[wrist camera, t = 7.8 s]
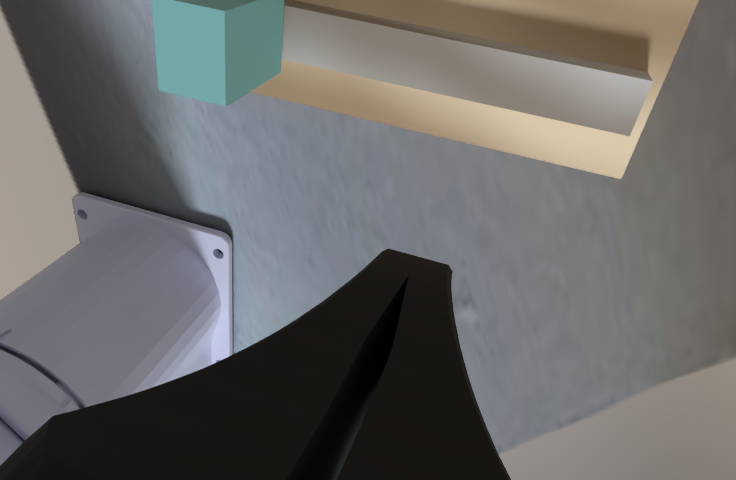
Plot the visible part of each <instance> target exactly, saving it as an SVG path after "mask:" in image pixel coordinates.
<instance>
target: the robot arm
mask: <svg viewBox="0 0 736 480" xmlns="http://www.w3.org/2000/svg"><path fill="white" fill-rule="evenodd" d="M72 203H73V208H74V213H75V219H76V224H77V229H78V235H79V240H80V244H78V245H77V246H76V247H74V248H73V249H71V250H70V251H69V252H67V253H66V254H64V255H63V256H62V257H60V258H59V259H58V260H56V261H55V262H53V263H52V264H51V265H49V266H48V267H46V268H45V269H43V270H42V271H40V272H39V273H38V274H36V275H35V276H33V277H32V278H31V279H30V280H28V281H27V282H25V283H24V284H22V285H21V286H19V287H18V288H17V289H15V290H14V291H12V292H11V293H10V294H8V295H7V296H6V297H4V298H3V299H1V300H0V480H511V479H510V477H509V475H508V473H507V471H506V469H505V467H504V465H503V463H502V461H501V459H500V457H499V455H498V453H497V451H496V448H495V446H494V444H493V441H492V439H491V437H490V434H489V432H488V430H487V427H486V425H485V423H484V420H483V417H482V415H481V412H480V409H479V407H478V404H477V402H476V399H475V396H474V393H473V390H472V387H471V384H470V381H469V377H468V374H467V370H466V367H465V363H464V360H463V356H462V352H461V348H460V344H459V339H458V334H457V329H456V324H455V318H454V312H453V303H452V292H451V278H452V270H451V268H450V267H449V265H446V264H443V263H439V262H435V261H432V260H428V259H424V258H421V257H417V256H413V255H410V254H406V253H402V252H399V251H395V250H391V249H386V250H384V251H382V252H381V253H380V254H379V255H378V256H377V257H376V258H375V259H374V260H373V261H372V262H371V263H370V264H369V265H367V266H366V267H365V268H364V269H363V270H362V271H361V272H359V273H358V274H357V275H356V276H355V277H354V278H352V279H351V280H350V281H349V282H347V283H346V284H345V285H344V286H342V287H341V288H340V289H338V290H337V291H336V292H335V293H333V294H332V295H331V296H329V297H328V298H327V299H325V300H324V301H323V302H321V303H320V304H318V305H317V306H315V307H314V308H312V309H311V310H310V311H308V312H307V313H305V314H304V315H302V316H301V317H299V318H298V319H296V320H295V321H293V322H292V323H290V324H288V325H287V326H285V327H283V328H282V329H280V330H279V331H277V332H275V333H273V334H272V335H270V336H268V337H266V338H264V339H263V340H261V341H259V342H257V343H255V344H253V345H251V346H250V347H248V348H246V349H243V350H241V351H239V352H237V353H235V354H233V324H232V241H231V239H230V237H229V236H228V235H227V234H226V233H224V232H222V231H218V230H215V229H211V228H208V227H204V226H201V225H197V224H193V223H190V222H186V221H183V220H179V219H176V218H172V217H169V216H165V215H162V214H158V213H155V212H151V211H148V210H144V209H140V208H137V207H133V206H130V205H126V204H123V203H119V202H116V201H112V200H109V199H105V198H102V197H98V196H95V195H91V194H87V193H83V192H81V193H79V194H77V195H75V196H74V197H73V199H72ZM84 211H85V212H86V213H87V214H86V213H85V212H84ZM218 249H219V250H221V251H222V252H223V254H221V253H220V252H219V251H218Z"/></svg>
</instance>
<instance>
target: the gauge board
mask: <svg viewBox="0 0 736 480" xmlns="http://www.w3.org/2000/svg"><path fill="white" fill-rule="evenodd" d="M698 1H699V0H284V15H283V37H282V59H281V73H279V74H278V75H276V76H275V77H273V78H271V79H270V80H268V81H266V82H265V83H263V84H262V85H260V86H258V87H257V88H255V89H253V90H252V91H250V92H253V93H257V94H261V95H265V96H270V97H274V98H278V99H282V100H287V101H291V102H295V103H299V104H304V105H308V106H312V107H316V108H321V109H325V110H329V111H333V112H338V113H342V114H346V115H350V116H355V117H359V118H363V119H367V120H372V121H376V122H380V123H384V124H389V125H393V126H397V127H401V128H406V129H410V130H414V131H418V132H423V133H427V134H431V135H435V136H440V137H444V138H448V139H452V140H457V141H461V142H465V143H469V144H474V145H478V146H482V147H486V148H491V149H495V150H499V151H503V152H508V153H512V154H516V155H520V156H525V157H529V158H533V159H537V160H542V161H546V162H550V163H554V164H559V165H563V166H567V167H571V168H576V169H580V170H584V171H588V172H593V173H597V174H601V175H605V176H610V177H614V178H618V179H622V176H623V174H624V172H625V169H626V167H627V165H628V162H629V160H630V158H631V155H632V153H633V151H634V149H635V146H636V144H637V142H638V139H639V137H640V135H641V132H642V130H643V128H644V126H645V123H646V121H647V119H648V116H649V114H650V112H651V109H652V107H653V105H654V102H655V100H656V98H657V96H658V93H659V91H660V89H661V86H662V84H663V82H664V79H665V77H666V75H667V73H668V70H669V68H670V66H671V63H672V61H673V59H674V56H675V54H676V52H677V49H678V47H679V45H680V43H681V40H682V38H683V36H684V33H685V31H686V29H687V26H688V24H689V22H690V20H691V17H692V15H693V13H694V10H695V8H696V6H697V3H698Z"/></svg>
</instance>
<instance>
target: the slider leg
mask: <svg viewBox="0 0 736 480" xmlns="http://www.w3.org/2000/svg"><path fill="white" fill-rule="evenodd" d="M151 1H152V14H153V27H154V39H155V52H156V64H157V77H158V89H159V91H164V92H168V93H172V94H176V95H180V96H184V97H188V98H193V99H197V100H201V101H205V102H209V103H213V104H217V105H221V106H227V105H229V104H231V103H232V102H234V101H235V100H237V99H239V98H240V97H242V96H244V95H245V94H247V93H248V92H250V91H252V90H253V89H255V88H257V87H258V86H260V85H262V84H263V83H265V82H266V81H268V80H270V79H271V78H273V77H275V76H276V75H278V74H279V73H281V59H282V37H283V15H284V0H151Z"/></svg>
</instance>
